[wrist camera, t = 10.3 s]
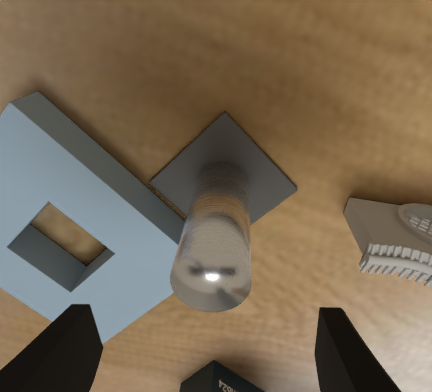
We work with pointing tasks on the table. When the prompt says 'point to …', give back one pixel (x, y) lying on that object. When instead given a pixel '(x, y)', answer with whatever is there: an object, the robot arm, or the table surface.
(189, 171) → the rubber mat
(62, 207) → the light blue flat block
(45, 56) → the table surface
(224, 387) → the watch
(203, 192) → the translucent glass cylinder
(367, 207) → the lattice window wall
